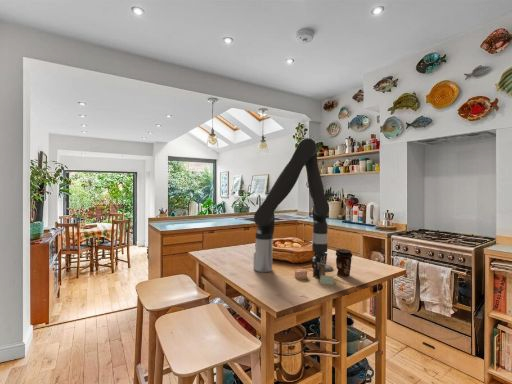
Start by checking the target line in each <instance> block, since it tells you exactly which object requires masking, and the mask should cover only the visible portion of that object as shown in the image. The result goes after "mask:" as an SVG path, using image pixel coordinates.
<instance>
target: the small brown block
mask: <svg viewBox="0 0 512 384" xmlns="http://www.w3.org/2000/svg"><path fill="white" fill-rule="evenodd" d="M307 278H308V271H307V269H304V268H297V269H295V270H294V279H296V280H300V281H301V280H303V281H304V280H307Z"/></svg>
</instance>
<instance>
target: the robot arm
mask: <svg viewBox="0 0 512 384" xmlns="http://www.w3.org/2000/svg"><path fill="white" fill-rule="evenodd" d="M317 152H318V145H317V143H316V141H315V140H314V139H312V138H309V137H307V138H303V139H301V140H300V141H299V142H298V144H297V145H296V148H295V151H294V153H293V154H292V156H291V158H290V160H289V161H288V163H287V164H286V165H285V167H284V168H283V170H282V171H281V172H280V174H279V175H278V176H277V178H276V180H275V182H274V184H273V185H272V187H271V189H270V190H269V192H268V194H267V196H266V197H265V199H264V201H263V202H262V203H261V205H260V206H259V207H258V209H256V211H255V213H254V216H253V220H254V223H255V224H256V226H257V230H256V232H255V250H254V251H253V270H255V271H256V272H259V273H270V272H272V271H273V250H274V249H273V242H274V241H273V238H274V237H273V236H274V232H275V221H276V220H275V213H274V212H275V211H276V209H277V208H278V206H279V205H280V204H282V202H283V201H284V200H285V199H286V198H287V196H289V194H290V193H291V191H292V190H293V189H294V187H295V185H296V184H297V182H298V179H299V177H300V175H301V172H302V170H303V168H304V167H305V170H306V179H307V184H308V185H307V186H308V190H309V194H310V197H311V199H312V201H313V207H312V220H313V223H312V224H313V225H312V226H313V227H312V239H311V241H312V243H311V244H312V245H311V247H312V248H311V250H312V252H314V255H313V257H311V267H312V269H313V268H314V269H315V276H316V277H315V278H318V277H319V268H320V265H321V264H322V265H327V259H328V253H327V252H328V243H329V240H328V239H329V238H328V222H327V216H328V215H329V214H330V213H329V212H330V205H329V202H328V199H327V197H326V194H325V189H324V184H323V180H322V177H321V173H320V169H319V164H318V153H317Z"/></svg>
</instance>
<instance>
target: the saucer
mask: <svg viewBox="0 0 512 384" xmlns="http://www.w3.org/2000/svg"><path fill="white" fill-rule="evenodd" d="M332 271H333V266H332V265H329V264H326V265H325V272H332Z"/></svg>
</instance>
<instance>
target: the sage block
mask: <svg viewBox="0 0 512 384" xmlns="http://www.w3.org/2000/svg"><path fill="white" fill-rule="evenodd" d="M319 279H320V281H319V284H322V285H334V283H335V278H334V276H333V275H325V276H324V275H321V278H319ZM334 286H335V285H334Z"/></svg>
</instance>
